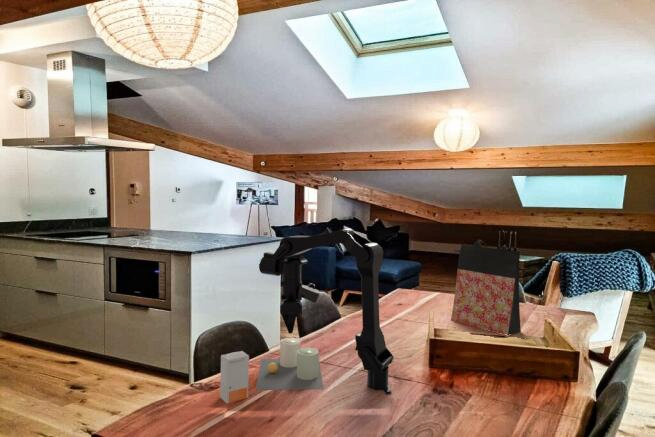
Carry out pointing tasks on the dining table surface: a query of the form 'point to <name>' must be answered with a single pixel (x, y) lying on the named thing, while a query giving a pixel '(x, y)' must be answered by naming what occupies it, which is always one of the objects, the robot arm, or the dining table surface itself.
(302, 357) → the sage cup
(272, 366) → the amber marble
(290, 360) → the cream cup
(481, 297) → the gift bag
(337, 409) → the dining table surface
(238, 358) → the skincare box
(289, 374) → the mat
